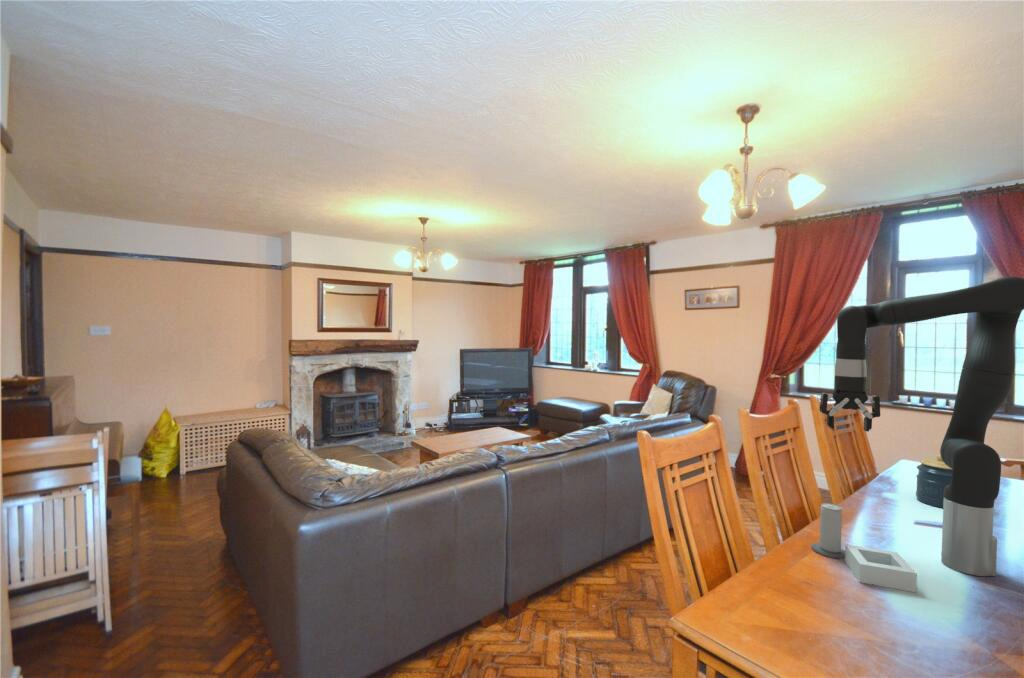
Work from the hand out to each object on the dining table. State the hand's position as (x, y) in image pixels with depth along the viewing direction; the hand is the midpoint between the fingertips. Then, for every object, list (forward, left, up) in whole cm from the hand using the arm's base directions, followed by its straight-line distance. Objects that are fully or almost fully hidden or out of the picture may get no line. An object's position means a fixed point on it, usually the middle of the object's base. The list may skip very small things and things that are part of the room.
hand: (848, 429), depth 134 cm
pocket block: (-1, +22, -32) cm, 39 cm away
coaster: (+7, +12, -32) cm, 35 cm away
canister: (-41, -47, -32) cm, 70 cm away
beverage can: (+7, +12, -32) cm, 34 cm away
